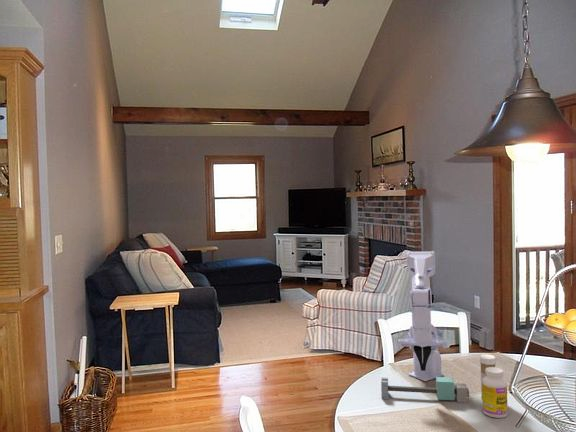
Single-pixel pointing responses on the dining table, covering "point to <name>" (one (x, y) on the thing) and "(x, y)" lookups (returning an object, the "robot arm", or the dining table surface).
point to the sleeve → (445, 388)
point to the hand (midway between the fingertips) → (423, 369)
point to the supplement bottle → (494, 393)
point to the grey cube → (462, 393)
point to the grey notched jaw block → (384, 388)
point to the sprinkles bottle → (486, 364)
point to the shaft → (414, 389)
